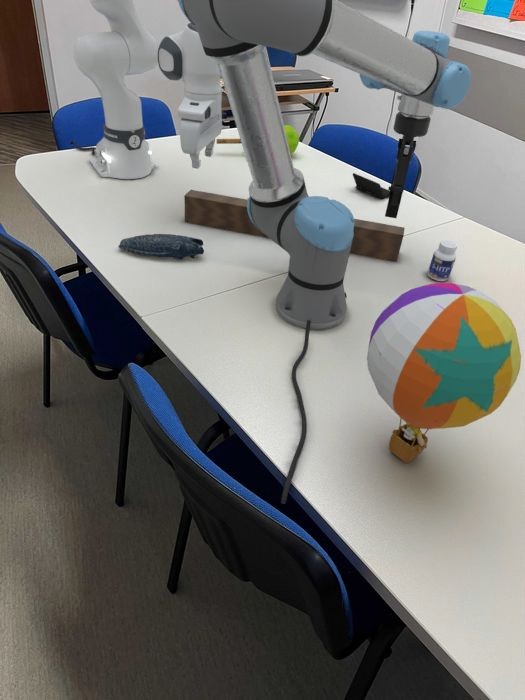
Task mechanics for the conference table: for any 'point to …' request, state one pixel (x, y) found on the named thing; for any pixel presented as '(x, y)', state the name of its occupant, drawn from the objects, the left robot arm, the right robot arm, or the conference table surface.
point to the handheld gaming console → (370, 186)
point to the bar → (235, 217)
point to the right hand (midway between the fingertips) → (392, 205)
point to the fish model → (163, 246)
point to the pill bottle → (442, 261)
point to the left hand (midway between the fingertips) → (202, 161)
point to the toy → (441, 360)
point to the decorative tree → (290, 134)
